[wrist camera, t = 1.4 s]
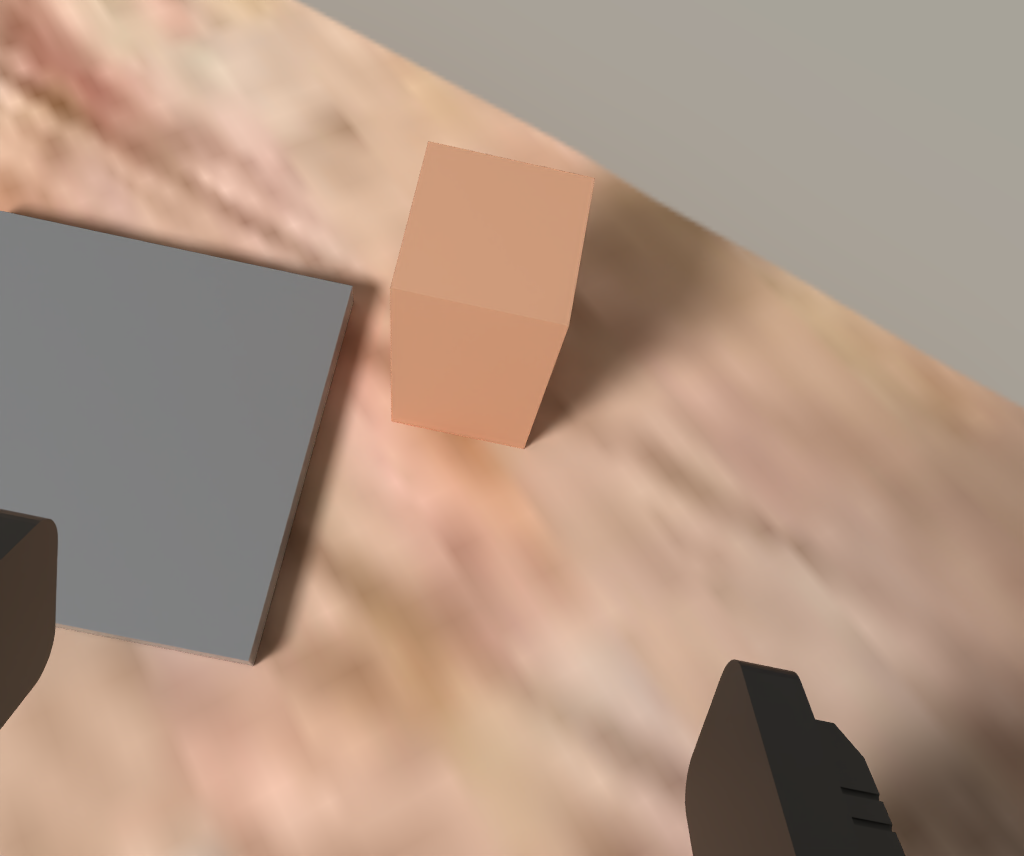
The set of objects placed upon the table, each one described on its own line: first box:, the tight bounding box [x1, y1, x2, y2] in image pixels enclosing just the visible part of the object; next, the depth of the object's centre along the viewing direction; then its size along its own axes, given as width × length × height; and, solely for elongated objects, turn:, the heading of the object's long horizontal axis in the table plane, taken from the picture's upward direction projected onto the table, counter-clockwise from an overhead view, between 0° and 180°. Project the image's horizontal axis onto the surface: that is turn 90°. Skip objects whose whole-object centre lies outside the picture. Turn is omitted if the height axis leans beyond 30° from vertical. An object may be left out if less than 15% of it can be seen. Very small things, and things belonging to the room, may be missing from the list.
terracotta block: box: [390, 141, 595, 449], centre depth 32 cm, size 5×5×10 cm
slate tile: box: [0, 211, 354, 666], centre depth 34 cm, size 14×14×1 cm
